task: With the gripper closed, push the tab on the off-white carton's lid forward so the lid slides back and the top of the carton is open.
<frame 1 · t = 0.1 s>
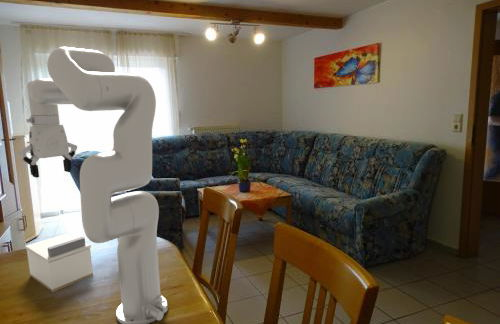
hand: (52, 174, 109), 31 cm above the table, tool pointing down, fingers open, 9 cm apart
cup: (130, 258, 118), on the table
carton: (61, 275, 107), on the table
carton lid: (57, 242, 105), point 11 cm above the table, slide at 0.0 cm
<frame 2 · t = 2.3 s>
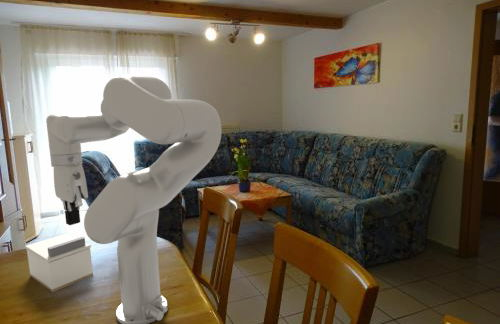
hand: (73, 223, 96), 20 cm above the table, tool pointing down, fingers closed
nothing on the table moved.
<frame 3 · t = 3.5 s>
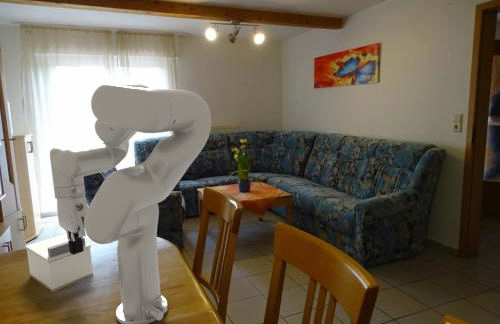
hand: (76, 252, 97), 11 cm above the table, tool pointing down, fingers closed
nothing on the table moved.
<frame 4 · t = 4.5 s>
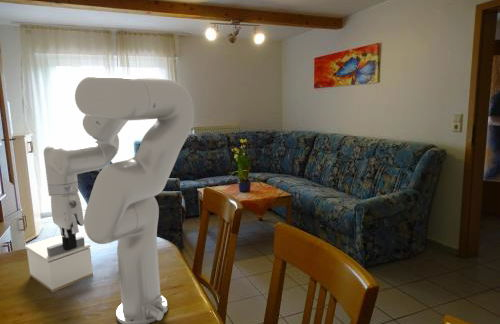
hand: (70, 248, 100), 11 cm above the table, tool pointing down, fingers closed
carton lid: (57, 242, 105), point 11 cm above the table, slide at 0.4 cm, touching gripper
everything else where it was.
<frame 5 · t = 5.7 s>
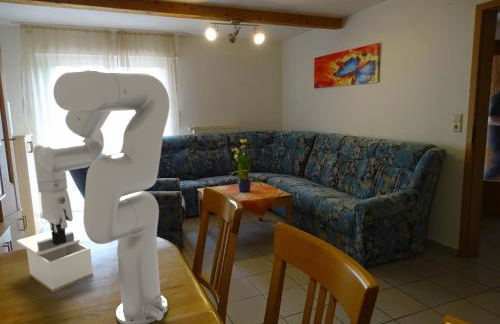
hand: (59, 243, 104), 11 cm above the table, tool pointing down, fingers closed
carton lid: (47, 237, 109), point 11 cm above the table, slide at 7.3 cm, touching gripper
everything else where it was.
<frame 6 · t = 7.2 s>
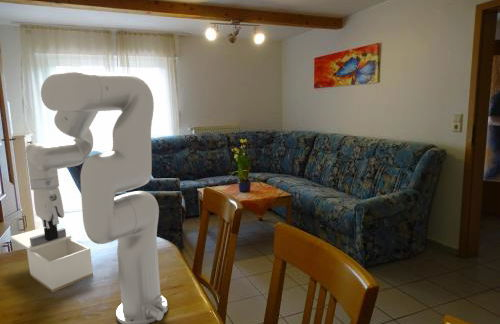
hand: (51, 239, 107), 11 cm above the table, tool pointing down, fingers closed
carton lid: (40, 233, 113), point 11 cm above the table, slide at 13.0 cm, touching gripper
everything else where it was.
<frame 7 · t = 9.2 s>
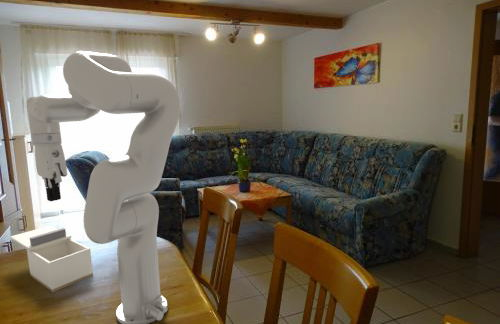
hand: (54, 199, 102), 25 cm above the table, tool pointing down, fingers closed
carton lid: (40, 233, 113), point 11 cm above the table, slide at 13.0 cm
everything else where it was.
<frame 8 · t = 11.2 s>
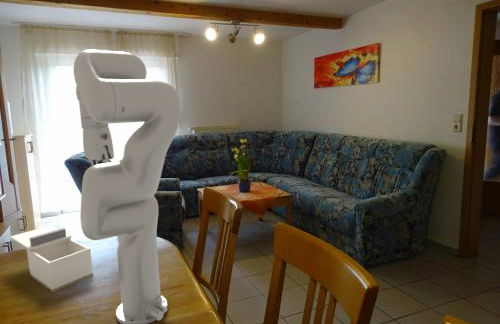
hand: (100, 181, 107), 29 cm above the table, tool pointing down, fingers closed
nothing on the table moved.
at the end: carton lid slide at 13.0 cm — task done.
